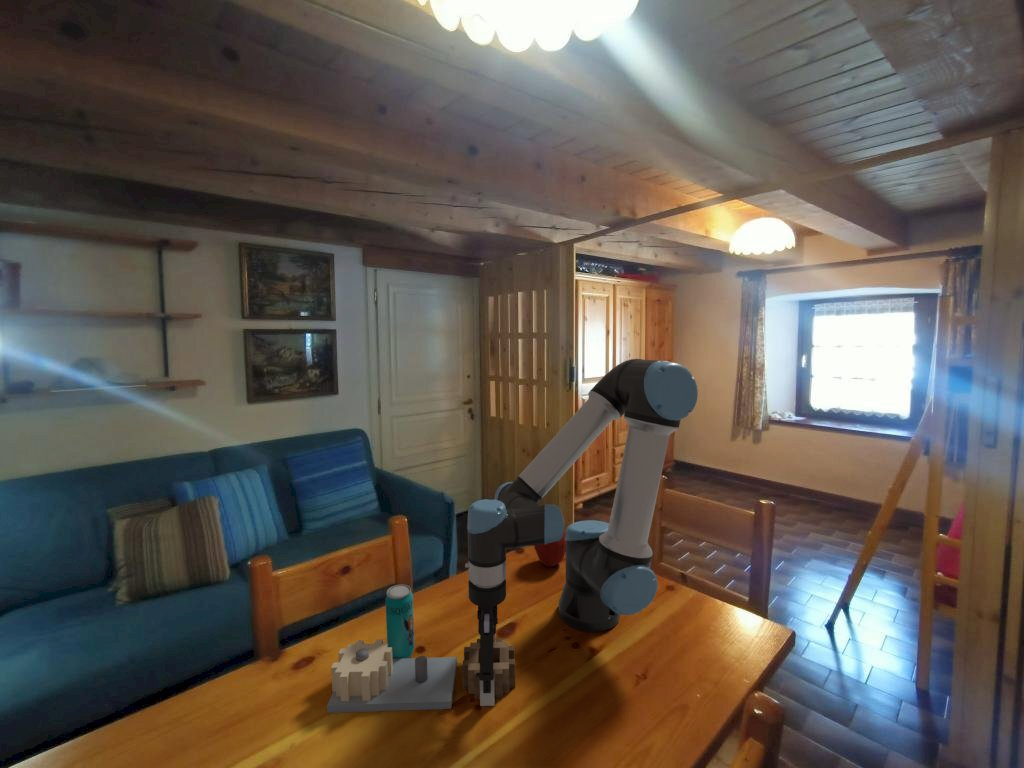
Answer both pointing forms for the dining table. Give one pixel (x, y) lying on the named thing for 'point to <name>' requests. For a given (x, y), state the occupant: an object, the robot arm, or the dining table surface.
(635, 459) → the robot arm
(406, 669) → the gear board
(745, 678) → the dining table surface
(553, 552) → the apple
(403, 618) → the beverage can
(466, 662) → the walnut gear
